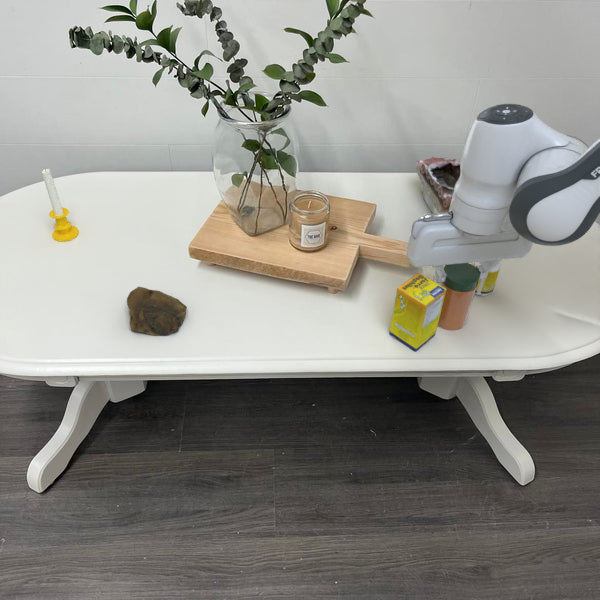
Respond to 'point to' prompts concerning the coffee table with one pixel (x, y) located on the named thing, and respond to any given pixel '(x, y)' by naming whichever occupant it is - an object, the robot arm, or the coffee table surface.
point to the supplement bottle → (487, 280)
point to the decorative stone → (154, 312)
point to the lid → (461, 276)
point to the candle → (58, 212)
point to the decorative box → (438, 181)
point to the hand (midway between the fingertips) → (460, 278)
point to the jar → (455, 308)
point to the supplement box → (417, 311)
